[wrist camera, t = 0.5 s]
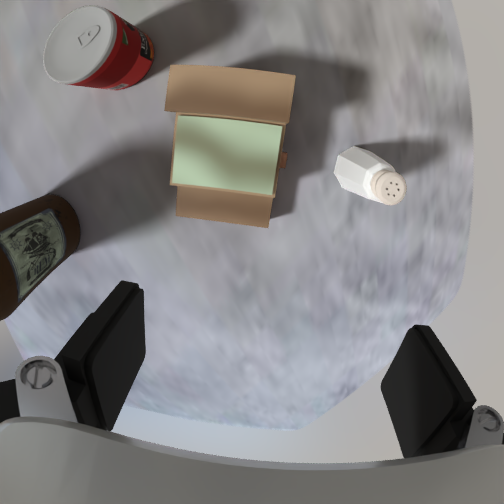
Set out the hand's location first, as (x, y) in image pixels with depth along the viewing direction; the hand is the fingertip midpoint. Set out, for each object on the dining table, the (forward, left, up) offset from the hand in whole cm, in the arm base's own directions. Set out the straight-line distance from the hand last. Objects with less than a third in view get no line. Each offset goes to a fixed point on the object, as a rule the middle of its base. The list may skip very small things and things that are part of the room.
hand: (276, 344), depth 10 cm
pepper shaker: (-4, +9, -27) cm, 28 cm away
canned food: (-14, -19, -27) cm, 35 cm away
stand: (-4, -5, -26) cm, 27 cm away
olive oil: (+8, -29, -27) cm, 40 cm away
